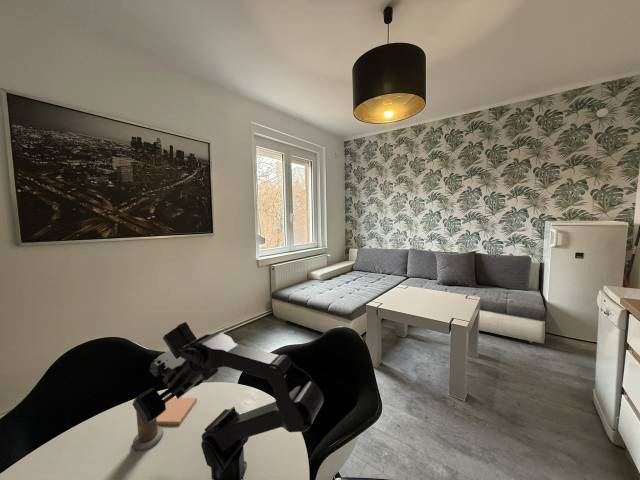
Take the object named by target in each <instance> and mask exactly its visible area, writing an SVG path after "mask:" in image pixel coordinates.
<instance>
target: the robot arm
mask: <svg viewBox="0 0 640 480" xmlns="http://www.w3.org/2000/svg"><path fill="white" fill-rule="evenodd" d="M162 340H163V342H164V343H165V345H166V346H167V348H168V349H169V350H167V351H165V352H163V353H162V354H160V355H158V356H157V357H156V358H154V360H153V361H152V362H151V363H150V367H149V372H150V373H151V374H152V375H153V376H154V377H159V376H160V375H161V376H164V377H163V379H162V382H163V383H164V384H165V385H167V389H166V390H164V391H163V392H161V393H160V394H159V392H158V390H157V389H156V388H155V387H150V388H148V389H147V390H145V391H144V392H142V393H141V394H139V395H138V396H136V397H135V398H134V400H133V401H132V406H133V408H134V409H135V412H136V411H137V413H138V415H139V416H140V418H141V420H142V421H143V423H144V424H149V423H150V422H152V421H153V420H154V419H156V418H157V417H158V416H159V415H161V414H162V413H163V412H164V411H165V410H166V405H165V403H166V402H168V401H169V400H170V399H172V398H177V399H179V398H182V396H184V395H185V394H187V393H188V392H189V391H190V390H192V389H193V388H196V387H198V386H200V385H201V384H203V383H204V382H205V381H208V380H209V379H210V378H212V377H213V376H215V374H217V373H219V369H220V368H229V369H233V370H235V371H239V372H242V373H245V374H247V375H252V376H254V377H258V378H261V379H264V380H266V381H268V383H269V385H270V386H271V389H272V391H273V396H274V400H275V401H273V402H271V403H268V404H265V405H262V406H259V407H257V408H254V409H252V410H249V411H246V412H242V413H241V414H240V413H239V412H238V411H237V410H236V408H235V406H233V407H231V408H229V409H227V408H225V409H224V410H223V411H222V412H221V413H219V414H218V416H217V417H216V418H214V420H213V421H211V423H209V424H208V425H207V426H206V428H204V432H203V433H202V434H201V444H200V446H201V450H202V453H203V456H204V460H205V462H206V465H207V467H209V468H210V471H211V480H241V479H242V480H243V478H244V475H245V471H246V469H247V461H245V454H244V452H245V450H244V445H245V444H247V442H248V441H249V438H251V437H254V436H257V435H260V434H263V433H266V432H270V431H273V430H277V429H280V428H283V429H284V430H286V431H287V432H288V433H303V432H304V433H305V432H307V431H308V430H309V429H310V428H311V426H312V425H313V422H314V420H315V418H316V416H317V414H318V413H319V411H320V410H321V407H322V406H323V404H324V400H325V399H324V394H323V391H322V390H321V388H320V386H318V384H317V383H316V382H315V380H314V379H313V377H311V375H310V374H309V372H307V371H306V370H304V369H303V368H301V367H299V366H297V365H296V364H295V363H294V362H293V360H292V359H291V357H290V356H288V355H287V354H276V353H271V352H268V351H264V350H260V349H258V348H257V349H256V348H254V347H249V346H246V345H243V344H242V345H241V344H238V343H237V342H235V341H234V339H233V338H232V337H231V336H229V335H227V334H225V333H223V332H219V331H217V332H215V333H212V334H210V333H209V334H204V335H202V336H200V337H198V338H197V337H196V335H195V334H194V333H193V331H192V329H191V328H190V326H189V324H188V323H187V321H184V322H182V323H179V324H178V325H177V326H176V327H175V328H173V329H171V330H170V331H169V332H167V333H166V334H164V335H163V337H162ZM286 377H287V378H288V379H290V380H291V381H294V382H296V383H297V385H298V386H296V387H294V388H293V389H292V390H291V391H290V392H289V388H288V385H287V381H286ZM242 477H243V478H242Z"/></svg>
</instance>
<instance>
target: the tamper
mask: <svg viewBox="0 0 640 480" xmlns="http://www.w3.org/2000/svg"><path fill="white" fill-rule="evenodd" d="M135 412H136V424H137V425H136V426H137V434H136V436H135V437H134V438H133V440H132V447H133V448H132V449H133V450H135V451H137V452H142V451H146V450H148V449H151V448H153V447H154V446H156V445H157V444H158V443H159V442H160V441H161V440H162V438H163V436H164V428H163V427H162V426H161V425H157V418H156V419H154V420H153V421H152V422H150V423H149V424H144V423H143V421H142V420H141V418H140V416H139V415H138V413H137V411H136V410H135Z"/></svg>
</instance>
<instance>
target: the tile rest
mask: <svg viewBox="0 0 640 480" xmlns="http://www.w3.org/2000/svg"><path fill="white" fill-rule="evenodd" d="M197 402H198V397H180V398H179V399H177V397H173V398H172V399H170V400H169V401H168V402H166V403H165V405H166V410H165V411H164V412H163V413H162V414H161V415H159V416H158V417H157V426H161V425H163V426H165V425H170V426H171V425H175V426H176V425H177V426H178V425H181V424H182V422H184V419H185V418H186V417H187V415H188V414H189V412H190V411H191V410H192V408H193V407H194V406H195V405H196V403H197Z"/></svg>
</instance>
